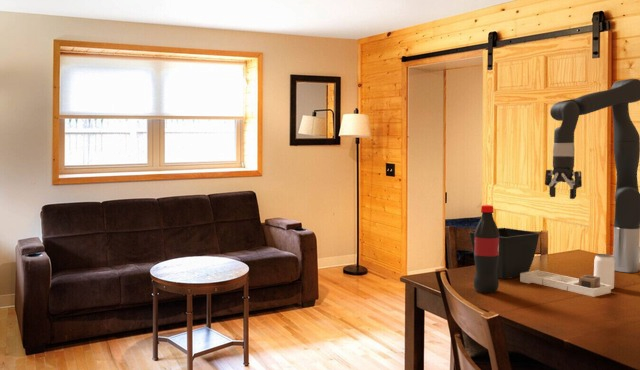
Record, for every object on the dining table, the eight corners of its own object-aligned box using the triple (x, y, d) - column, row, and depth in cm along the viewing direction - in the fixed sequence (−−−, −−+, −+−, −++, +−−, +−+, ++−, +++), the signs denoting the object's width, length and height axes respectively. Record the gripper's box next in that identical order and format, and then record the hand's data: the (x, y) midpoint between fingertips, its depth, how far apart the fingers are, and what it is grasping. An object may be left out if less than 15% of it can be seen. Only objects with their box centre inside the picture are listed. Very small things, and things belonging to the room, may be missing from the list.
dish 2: (560, 283, 224) (560, 274, 223) (583, 288, 215) (584, 279, 215) (543, 287, 218) (543, 278, 218) (566, 292, 210) (566, 283, 210)
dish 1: (537, 278, 232) (537, 269, 232) (559, 283, 224) (559, 274, 224) (520, 281, 227) (520, 273, 226) (542, 286, 219) (542, 277, 218)
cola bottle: (499, 289, 216) (500, 204, 213) (498, 295, 208) (499, 206, 205) (474, 287, 218) (475, 203, 216) (472, 293, 210) (473, 206, 208)
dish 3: (584, 289, 215) (585, 280, 215) (610, 294, 207) (610, 285, 207) (567, 292, 210) (568, 283, 210) (593, 299, 202) (593, 289, 202)
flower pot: (467, 272, 242) (468, 230, 240) (502, 267, 251) (503, 226, 250) (503, 282, 225) (504, 237, 224) (539, 276, 235) (540, 233, 233)
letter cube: (585, 289, 212) (585, 274, 212) (599, 291, 208) (600, 276, 208) (578, 291, 209) (578, 276, 208) (593, 294, 205) (593, 279, 204)
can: (616, 291, 211) (617, 257, 210) (595, 291, 212) (596, 256, 211) (611, 287, 217) (612, 253, 216) (591, 286, 219) (592, 253, 218)
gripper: (541, 154, 235) (540, 197, 237) (574, 155, 223) (573, 200, 225) (553, 154, 239) (552, 195, 241) (586, 155, 228) (585, 198, 229)
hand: (562, 197), depth 233 cm, fingers open, 8 cm apart
